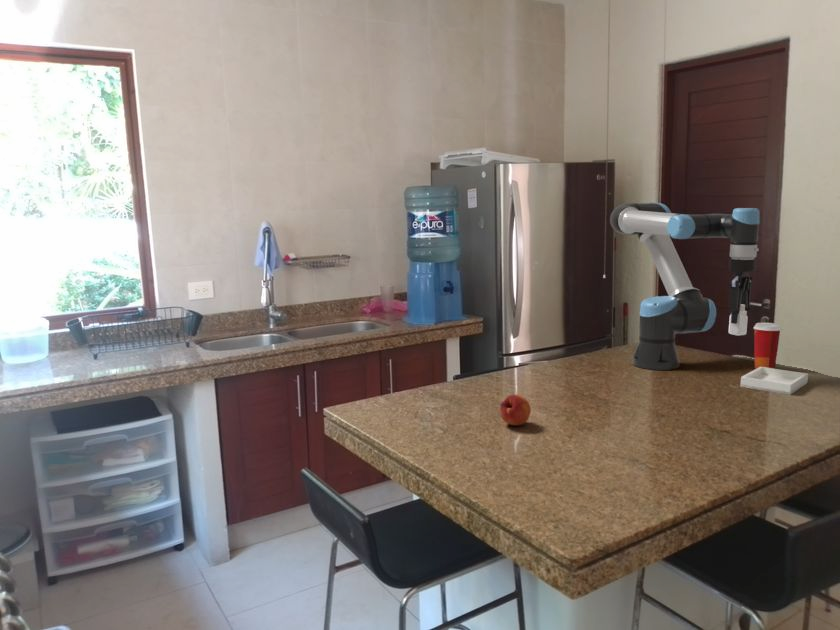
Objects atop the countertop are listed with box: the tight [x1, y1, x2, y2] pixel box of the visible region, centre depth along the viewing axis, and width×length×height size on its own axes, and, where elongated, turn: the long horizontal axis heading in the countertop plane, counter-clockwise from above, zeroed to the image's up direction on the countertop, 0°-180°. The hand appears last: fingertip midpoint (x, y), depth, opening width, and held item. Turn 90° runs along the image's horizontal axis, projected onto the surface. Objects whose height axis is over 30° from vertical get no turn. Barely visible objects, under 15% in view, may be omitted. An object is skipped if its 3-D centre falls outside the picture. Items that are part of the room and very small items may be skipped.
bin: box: [740, 367, 809, 396], centre depth 202 cm, size 14×18×3 cm
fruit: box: [499, 394, 532, 426], centre depth 168 cm, size 8×8×8 cm
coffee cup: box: [753, 322, 782, 369], centre depth 222 cm, size 8×8×15 cm
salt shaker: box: [728, 304, 749, 336], centre depth 210 cm, size 4×4×10 cm
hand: (737, 331), depth 210 cm, fingers closed on salt shaker, 5 cm apart
